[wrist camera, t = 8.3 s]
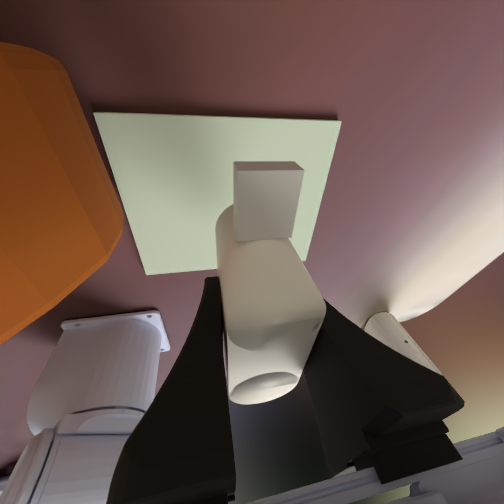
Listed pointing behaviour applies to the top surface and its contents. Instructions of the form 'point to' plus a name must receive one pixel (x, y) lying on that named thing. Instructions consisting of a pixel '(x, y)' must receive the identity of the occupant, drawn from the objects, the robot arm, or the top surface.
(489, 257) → the top surface
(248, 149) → the rubber mat
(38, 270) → the orange toaster
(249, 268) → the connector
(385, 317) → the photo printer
